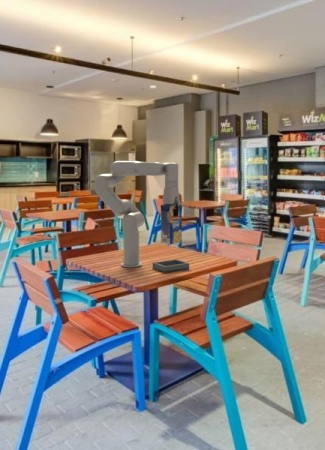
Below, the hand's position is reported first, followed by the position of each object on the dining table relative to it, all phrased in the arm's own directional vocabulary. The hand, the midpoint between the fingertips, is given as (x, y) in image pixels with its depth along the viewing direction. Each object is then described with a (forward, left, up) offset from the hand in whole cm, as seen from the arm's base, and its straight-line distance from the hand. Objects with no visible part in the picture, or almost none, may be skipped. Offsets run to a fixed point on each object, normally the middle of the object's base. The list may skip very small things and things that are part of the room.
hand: (171, 215), depth 242 cm
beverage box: (0, 0, -16) cm, 16 cm away
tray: (0, 0, -32) cm, 32 cm away
